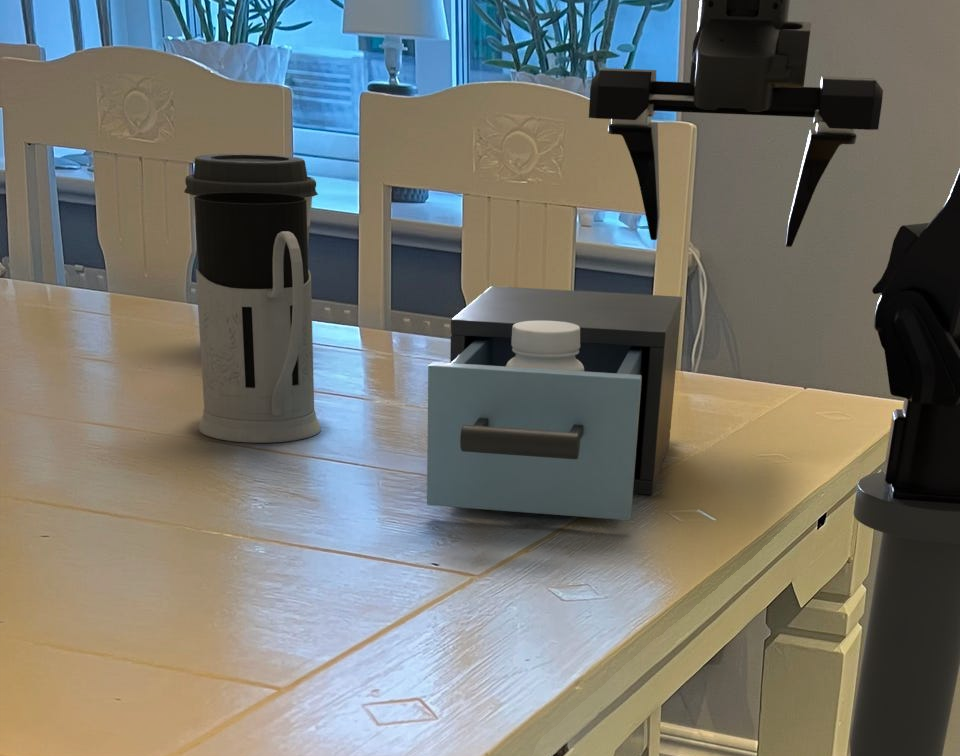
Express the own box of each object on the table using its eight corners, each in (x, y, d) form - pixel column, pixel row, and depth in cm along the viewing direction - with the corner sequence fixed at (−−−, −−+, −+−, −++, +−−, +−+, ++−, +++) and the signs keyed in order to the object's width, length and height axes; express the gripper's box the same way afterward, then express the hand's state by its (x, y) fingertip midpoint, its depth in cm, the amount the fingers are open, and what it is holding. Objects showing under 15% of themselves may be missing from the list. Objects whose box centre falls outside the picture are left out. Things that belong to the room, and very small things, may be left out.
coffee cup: (290, 363, 136) (284, 166, 128) (170, 352, 139) (157, 159, 131) (341, 341, 145) (338, 157, 137) (227, 331, 148) (218, 150, 140)
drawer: (621, 543, 89) (632, 395, 85) (409, 526, 91) (410, 381, 86) (649, 465, 104) (659, 337, 100) (467, 453, 106) (470, 326, 102)
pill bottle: (543, 459, 100) (550, 316, 96) (595, 475, 97) (604, 328, 93) (485, 469, 98) (489, 323, 93) (537, 486, 94) (543, 335, 90)
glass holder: (298, 411, 120) (292, 190, 112) (365, 455, 109) (362, 213, 101) (184, 419, 116) (169, 191, 109) (241, 465, 105) (228, 215, 98)
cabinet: (652, 495, 102) (665, 332, 97) (448, 480, 103) (450, 319, 98) (669, 443, 114) (682, 296, 109) (486, 431, 116) (491, 285, 111)
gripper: (587, -34, 95) (572, 250, 103) (905, -25, 93) (864, 265, 101) (605, -29, 105) (590, 231, 113) (894, -21, 102) (857, 244, 110)
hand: (721, 242), depth 109 cm, fingers open, 9 cm apart
